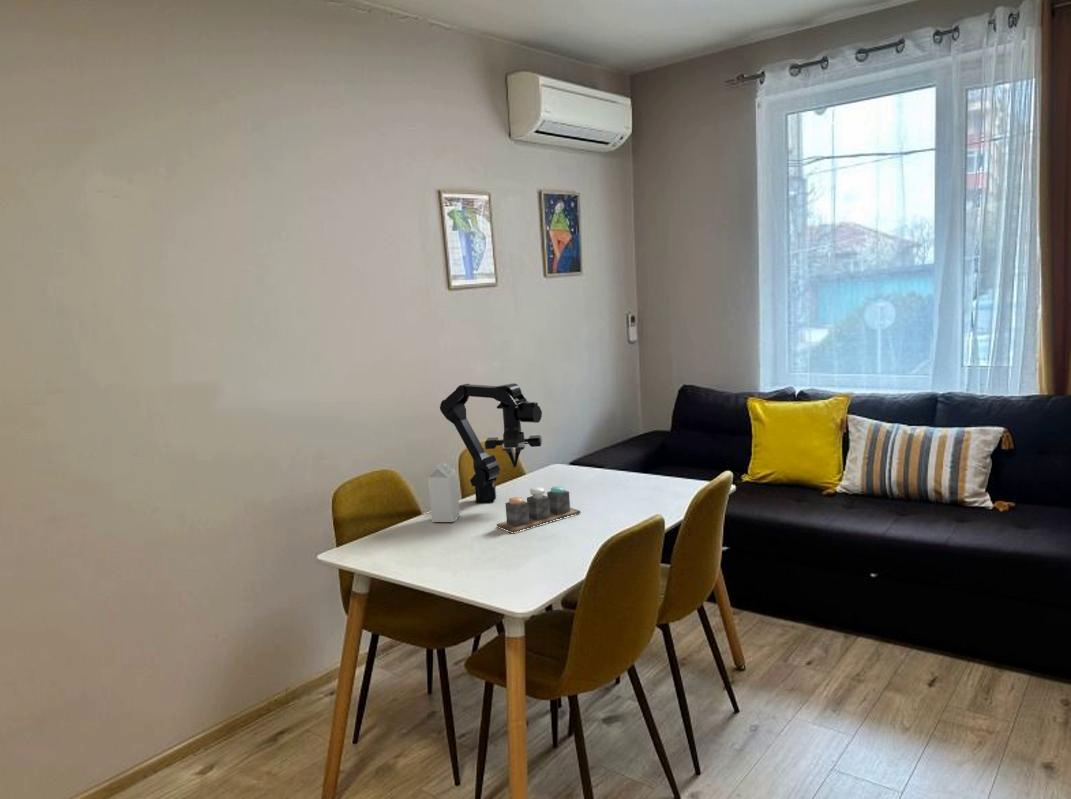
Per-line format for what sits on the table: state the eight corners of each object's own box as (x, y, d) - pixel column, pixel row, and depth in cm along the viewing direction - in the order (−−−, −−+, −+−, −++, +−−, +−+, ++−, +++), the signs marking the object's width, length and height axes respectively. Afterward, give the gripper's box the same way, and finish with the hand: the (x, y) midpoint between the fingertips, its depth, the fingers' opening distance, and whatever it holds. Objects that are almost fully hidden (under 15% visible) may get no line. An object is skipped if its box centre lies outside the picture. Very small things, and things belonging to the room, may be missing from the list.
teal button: (557, 502, 227) (556, 490, 227) (548, 499, 231) (548, 488, 230) (568, 498, 230) (567, 488, 229) (559, 496, 233) (558, 485, 233)
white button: (536, 503, 223) (535, 492, 222) (528, 500, 226) (527, 489, 226) (547, 500, 225) (547, 489, 224) (539, 497, 229) (538, 486, 228)
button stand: (513, 533, 215) (511, 509, 214) (496, 527, 223) (495, 503, 222) (580, 513, 230) (579, 491, 229) (563, 508, 238) (561, 486, 236)
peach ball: (515, 513, 218) (514, 502, 218) (507, 510, 222) (506, 499, 221) (526, 510, 221) (526, 498, 220) (518, 507, 224) (518, 496, 224)
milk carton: (431, 523, 231) (426, 465, 228) (439, 516, 238) (434, 460, 235) (452, 523, 229) (447, 465, 226) (460, 516, 236) (455, 460, 233)
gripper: (480, 427, 234) (484, 474, 236) (538, 424, 233) (541, 471, 235) (485, 421, 245) (489, 466, 247) (540, 418, 244) (543, 463, 246)
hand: (515, 467), depth 244 cm, fingers closed
